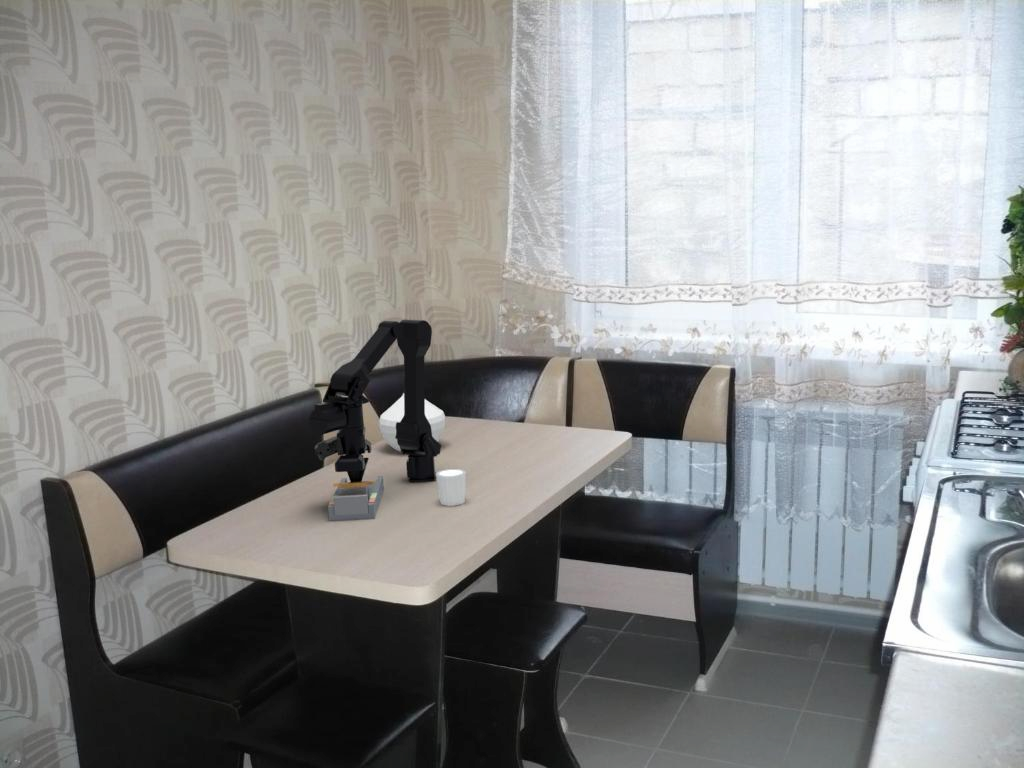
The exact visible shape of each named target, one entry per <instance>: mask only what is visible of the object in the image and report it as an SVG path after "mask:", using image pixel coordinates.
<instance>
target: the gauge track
mask: <svg viewBox="0 0 1024 768" xmlns="http://www.w3.org/2000/svg"><path fill="white" fill-rule="evenodd" d="M347 482H348V478H347V477H341V479H340V480H339V483H347ZM339 488H340V486H338V487H336V489H335V491H334V492H333V493H334V494H333V495H332V497H331V499H330V501H329V502H328V503H329V504H328V506H327V509H328V521H329V522H334V521H336V522H337V521H348V520H349V521H353V520H370V519H376V515H377V512H378V509H379V506H380V502H381V499H382V496H383V494H384V489H385V486H384V476H383V475H378V476H377V478H376V482H375V483H374V485H369V498H370V500H369V503H368V494H367V495H349V496H340V494H339Z"/></svg>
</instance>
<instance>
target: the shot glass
mask: <svg viewBox="0 0 1024 768" xmlns="http://www.w3.org/2000/svg"><path fill="white" fill-rule="evenodd" d="M466 480H467V471H465V470H464V469H461V468H460V469H459V468H448V469H442V470H440V471H436V483H437V490H438V495H439V502H440V504H441V505H443V506H449V507H450V506H452V507H453V506H454V507H455V506H459V504H460V505H463V504H465V502H466V487H467V485H466V484H467V483H466V482H467V481H466Z"/></svg>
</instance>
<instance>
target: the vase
mask: <svg viewBox="0 0 1024 768" xmlns="http://www.w3.org/2000/svg"><path fill="white" fill-rule="evenodd" d="M403 416H404V393H402V395H401V397H399V398H398V399H397V400H396V401H395V402H394V403H393V404H392V405H391V406H390V407H388V408H387V410H385V411H384V412H383V413H382V414H380V417H379V421H378V425H379V426H378V427H379V431H380V433H381V435H382V437H383V439H384V441H385V442H386V443H387V444H388V445H389V447H391V448H392V449H394V450H395V451H397V452H400V453H402V452H401V449H400V446H399V445H398V443H397V439H395V437H396V423H397V422H401V420H402V418H403ZM425 416H426V418H427V420H428V422H429V423H430V425H431V431H432V437H433V438H434V439H435V440H436V441H437V442H438V443H439V441H440V440H441V438H443V437H442V436H443V433H444V431H445V429H446V415H445V412H444V411H443V410H442V409H440V408H439V407H437V406H436V405H435V404H433V403H431V402H430V401H428V400H427V399H426V398H425Z"/></svg>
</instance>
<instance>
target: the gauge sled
mask: <svg viewBox="0 0 1024 768" xmlns="http://www.w3.org/2000/svg"><path fill="white" fill-rule="evenodd" d="M374 484H375V480H369V481H368V480H366V481H362V482H350V481H347V483H340V482H334V483H333V484H332V487H333V488H337V487H338V486H340V488H339V494H340V496H349V495H367V494H368V503H369V500H370V498H369V485H374Z"/></svg>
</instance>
